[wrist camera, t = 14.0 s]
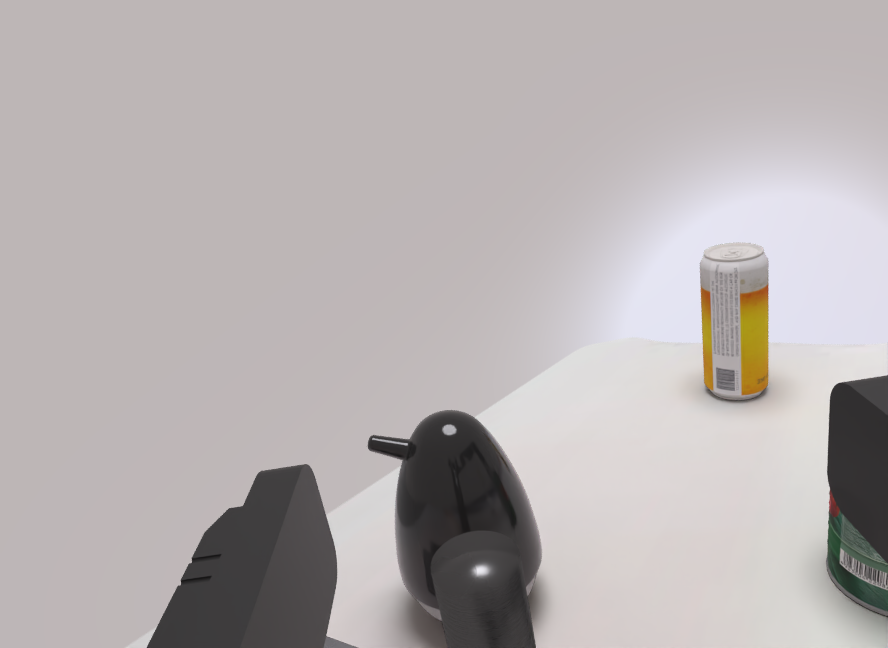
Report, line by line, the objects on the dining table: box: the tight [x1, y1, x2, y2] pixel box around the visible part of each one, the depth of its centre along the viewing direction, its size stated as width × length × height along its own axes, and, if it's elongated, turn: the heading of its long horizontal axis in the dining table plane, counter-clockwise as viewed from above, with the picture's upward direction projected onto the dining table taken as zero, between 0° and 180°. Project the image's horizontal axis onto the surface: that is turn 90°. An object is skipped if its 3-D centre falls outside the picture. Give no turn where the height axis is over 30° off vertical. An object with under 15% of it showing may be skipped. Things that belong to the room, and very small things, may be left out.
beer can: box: [700, 243, 768, 400], centre depth 67 cm, size 6×6×15 cm
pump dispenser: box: [368, 410, 542, 621], centre depth 46 cm, size 10×10×15 cm
